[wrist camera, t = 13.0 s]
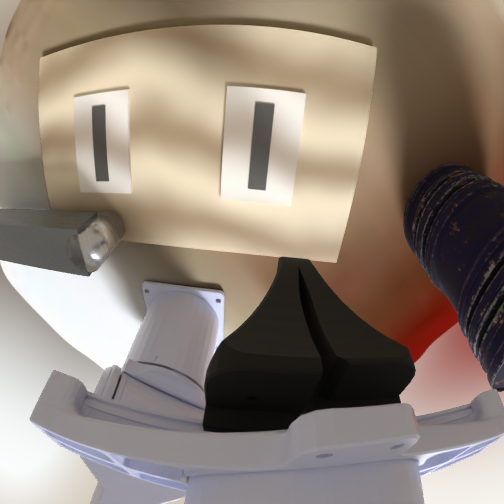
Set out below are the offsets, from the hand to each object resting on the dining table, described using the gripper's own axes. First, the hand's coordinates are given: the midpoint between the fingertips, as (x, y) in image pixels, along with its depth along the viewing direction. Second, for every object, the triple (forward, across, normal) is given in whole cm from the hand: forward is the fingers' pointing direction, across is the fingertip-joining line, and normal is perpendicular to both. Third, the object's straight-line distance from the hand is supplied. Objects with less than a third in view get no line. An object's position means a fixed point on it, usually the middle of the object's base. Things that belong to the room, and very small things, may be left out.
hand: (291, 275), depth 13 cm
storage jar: (+10, -15, -1) cm, 18 cm away
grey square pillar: (+8, +21, +3) cm, 22 cm away
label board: (+9, +8, -4) cm, 13 cm away
